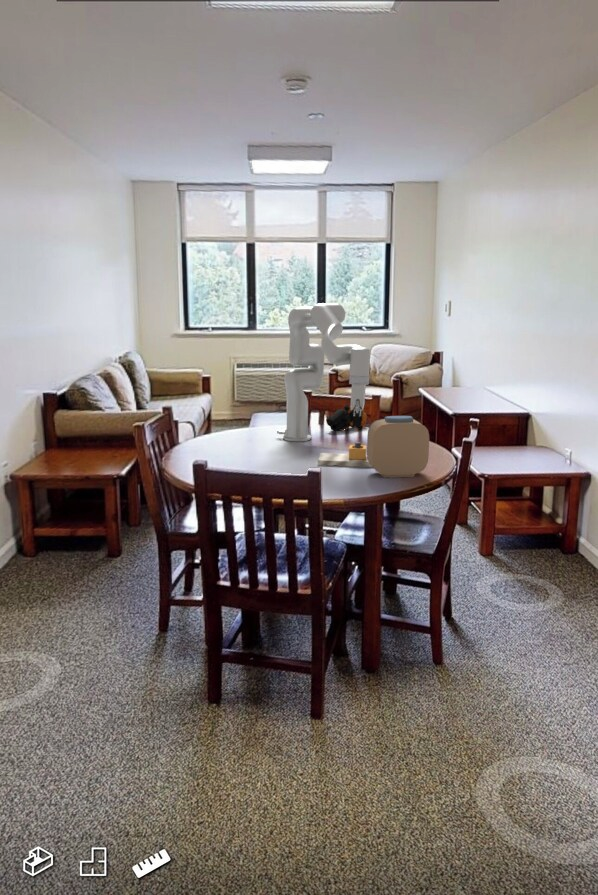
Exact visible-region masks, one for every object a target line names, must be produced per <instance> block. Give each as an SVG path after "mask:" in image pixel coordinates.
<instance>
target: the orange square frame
mask: <svg viewBox="0 0 598 895" xmlns="http://www.w3.org/2000/svg"><path fill="white" fill-rule="evenodd" d="M348 454H349V459H366V454H367V444H366V445H363V444H361V448H355V444H349V447H348Z"/></svg>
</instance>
